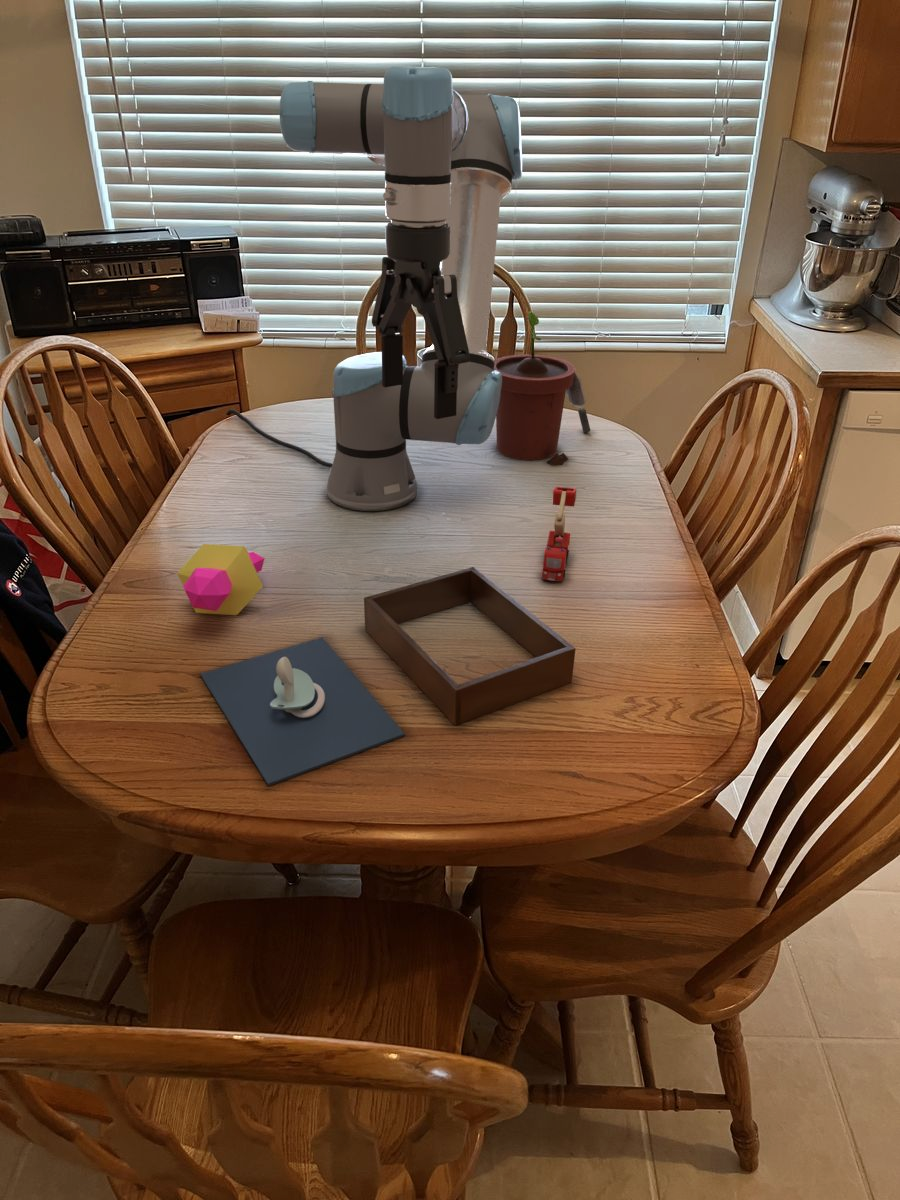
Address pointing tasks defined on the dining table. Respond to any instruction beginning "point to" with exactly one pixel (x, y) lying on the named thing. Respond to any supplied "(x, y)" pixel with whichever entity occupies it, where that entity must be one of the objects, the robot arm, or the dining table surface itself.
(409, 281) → the robot arm
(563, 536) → the toy fire truck
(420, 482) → the dining table surface
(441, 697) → the open box
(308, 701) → the pacifier
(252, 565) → the toy
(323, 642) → the mat
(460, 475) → the dining table surface
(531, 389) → the potted plant
